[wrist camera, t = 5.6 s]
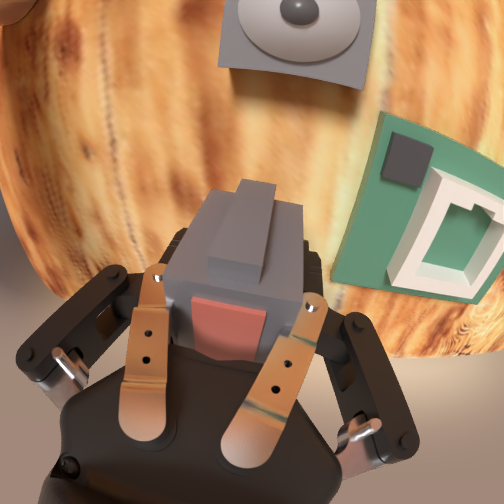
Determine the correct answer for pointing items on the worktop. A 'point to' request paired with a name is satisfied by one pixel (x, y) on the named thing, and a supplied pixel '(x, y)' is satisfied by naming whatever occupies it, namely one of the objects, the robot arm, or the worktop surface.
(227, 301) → the keyed plug
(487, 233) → the circuit board
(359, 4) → the grey square domed block
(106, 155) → the worktop surface
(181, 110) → the worktop surface
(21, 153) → the worktop surface
